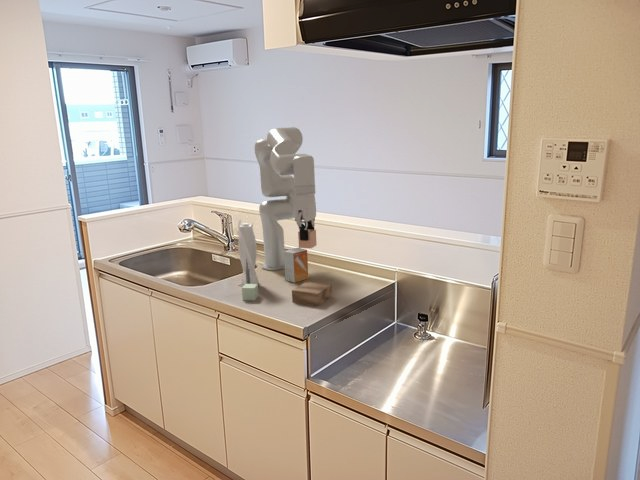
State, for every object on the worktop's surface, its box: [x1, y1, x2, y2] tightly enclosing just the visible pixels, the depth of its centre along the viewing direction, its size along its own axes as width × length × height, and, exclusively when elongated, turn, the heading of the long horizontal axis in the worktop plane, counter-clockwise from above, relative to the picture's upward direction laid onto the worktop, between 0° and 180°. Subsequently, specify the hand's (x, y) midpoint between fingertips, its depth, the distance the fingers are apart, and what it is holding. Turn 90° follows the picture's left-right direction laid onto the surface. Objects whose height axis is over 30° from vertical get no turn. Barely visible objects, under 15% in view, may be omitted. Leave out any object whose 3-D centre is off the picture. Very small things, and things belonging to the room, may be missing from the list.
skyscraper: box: [237, 218, 262, 288], centre depth 211 cm, size 8×8×28 cm
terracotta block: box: [297, 229, 318, 249], centre depth 187 cm, size 5×5×6 cm
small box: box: [284, 247, 309, 284], centre depth 216 cm, size 8×6×13 cm
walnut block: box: [291, 281, 333, 307], centre depth 192 cm, size 11×11×5 cm
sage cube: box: [241, 284, 260, 301], centre depth 196 cm, size 5×5×5 cm
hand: (307, 238), depth 187 cm, fingers closed on terracotta block, 5 cm apart
